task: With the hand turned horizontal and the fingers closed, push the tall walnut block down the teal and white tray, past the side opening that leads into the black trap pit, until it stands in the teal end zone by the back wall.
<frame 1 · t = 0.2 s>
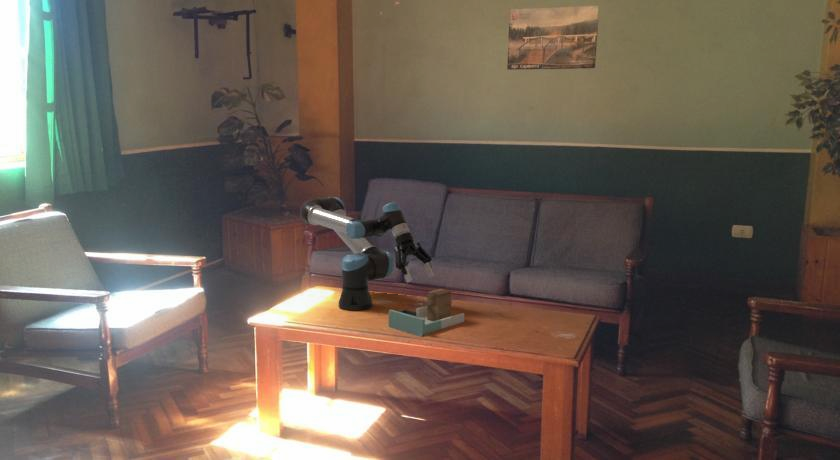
hand: (421, 279, 310), 15 cm above the table, tool tilted 35°, fingers open, 13 cm apart
walnut block: (439, 319, 300), point 1 cm above the table, touching teal and white tray
teal and white tray: (427, 325, 295), on the table
trap pit: (403, 319, 303), on the table
decorative key: (430, 309, 319), on the table
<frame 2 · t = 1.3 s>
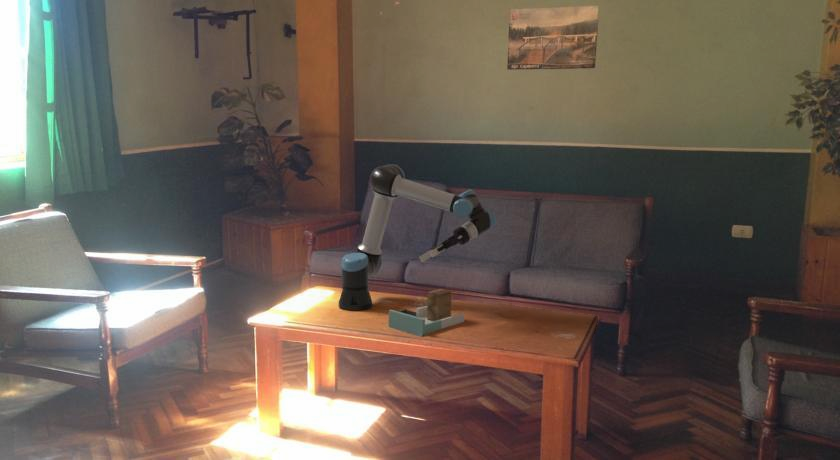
hand: (425, 257, 303), 26 cm above the table, tool tilted 65°, fingers open, 13 cm apart
nothing on the table moved.
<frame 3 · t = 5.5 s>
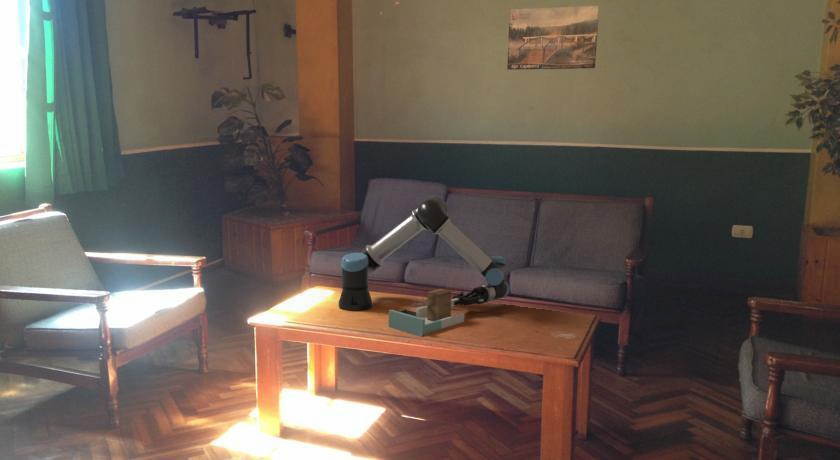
hand: (447, 304, 301), 7 cm above the table, tool horizontal, fingers closed
walnut block: (439, 319, 300), point 1 cm above the table, touching gripper
everything else where it was.
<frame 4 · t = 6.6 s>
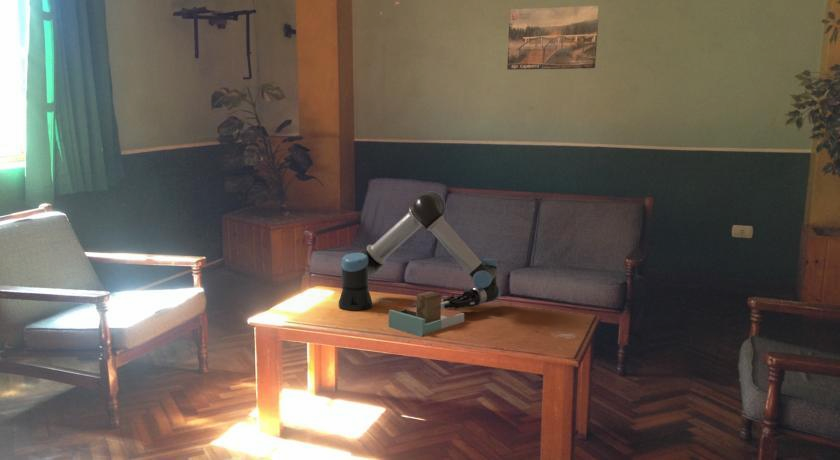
hand: (437, 307, 296), 7 cm above the table, tool horizontal, fingers closed
walnut block: (428, 322, 295), point 1 cm above the table
everything else where it was.
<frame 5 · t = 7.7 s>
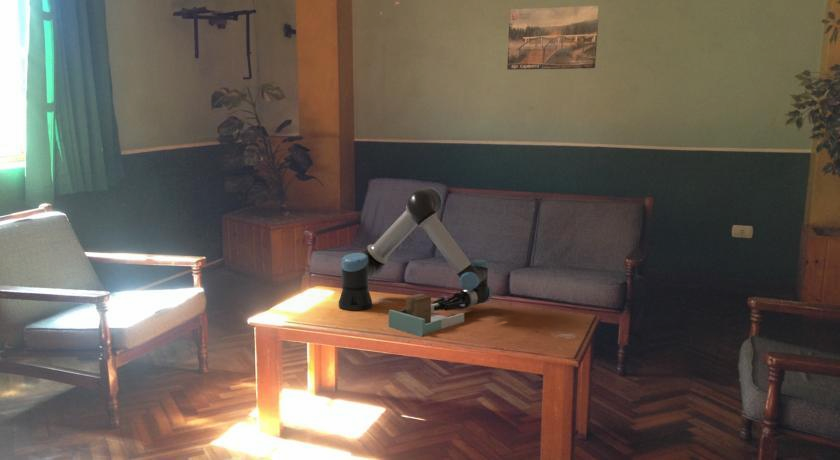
hand: (427, 309, 293), 7 cm above the table, tool horizontal, fingers closed
walnut block: (418, 325, 291), point 1 cm above the table, touching gripper
everything else where it was.
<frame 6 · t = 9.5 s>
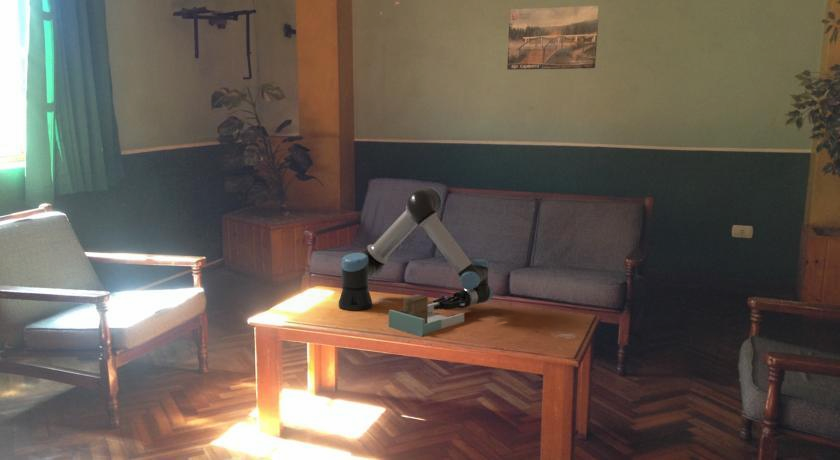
hand: (427, 308, 293), 7 cm above the table, tool horizontal, fingers closed
walnut block: (415, 326, 290), point 1 cm above the table, touching teal and white tray
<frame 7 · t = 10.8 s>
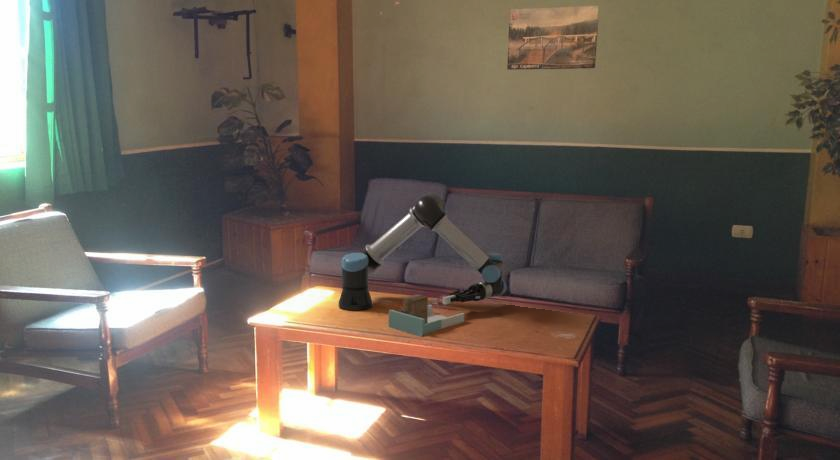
hand: (443, 301, 300), 8 cm above the table, tool horizontal, fingers closed
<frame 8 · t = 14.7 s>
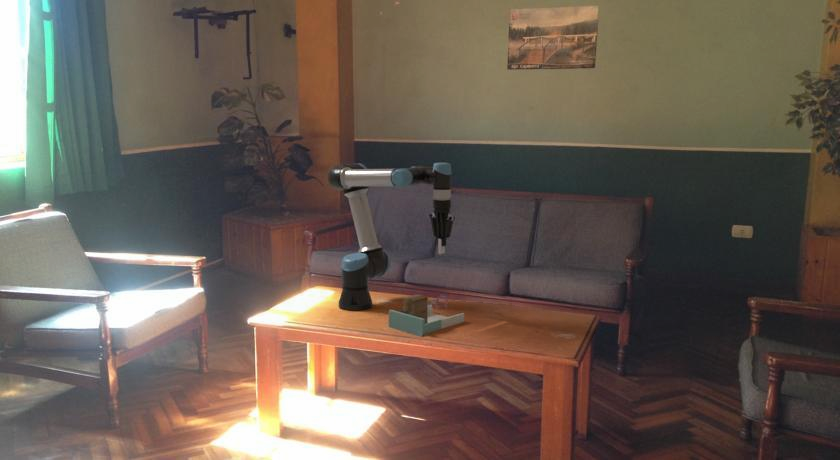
hand: (441, 253, 310), 26 cm above the table, tool pointing down, fingers closed
at the end: walnut block inside the target area (0.4 cm from its centre), point 1.0 cm above the table; walnut block tilted 0° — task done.
